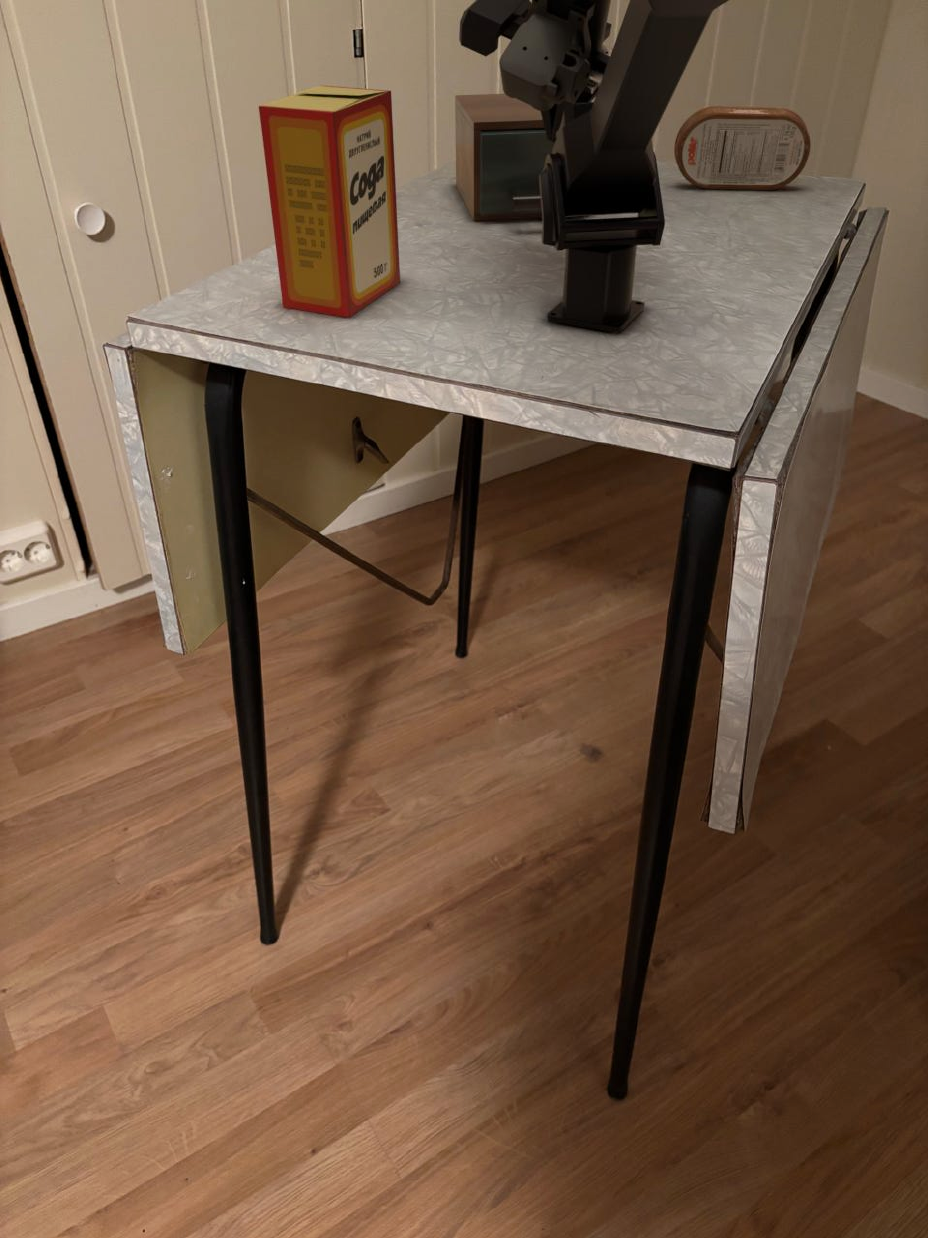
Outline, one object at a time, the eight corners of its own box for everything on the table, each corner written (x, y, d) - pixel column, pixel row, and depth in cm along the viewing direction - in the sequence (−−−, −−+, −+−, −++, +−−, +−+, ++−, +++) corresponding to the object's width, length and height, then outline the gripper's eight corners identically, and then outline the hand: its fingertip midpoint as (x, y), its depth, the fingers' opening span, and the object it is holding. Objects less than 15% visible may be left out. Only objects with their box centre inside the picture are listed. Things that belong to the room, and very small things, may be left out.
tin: (800, 185, 115) (815, 105, 110) (804, 192, 112) (820, 111, 107) (669, 183, 116) (678, 103, 111) (671, 190, 113) (680, 109, 108)
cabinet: (589, 215, 106) (595, 117, 100) (473, 221, 104) (473, 122, 99) (560, 181, 117) (565, 91, 111) (456, 185, 116) (455, 95, 110)
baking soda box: (349, 317, 83) (331, 106, 73) (283, 306, 85) (257, 100, 75) (400, 282, 89) (390, 85, 80) (338, 273, 92) (321, 80, 82)
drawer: (596, 221, 101) (602, 138, 96) (486, 226, 100) (487, 143, 95) (560, 178, 115) (563, 104, 110) (463, 182, 114) (463, 107, 109)
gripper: (426, -26, 76) (423, 147, 90) (637, 69, 73) (599, 233, 87) (500, -93, 81) (486, 81, 95) (702, -7, 77) (656, 161, 91)
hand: (553, 139), depth 92 cm, fingers closed
